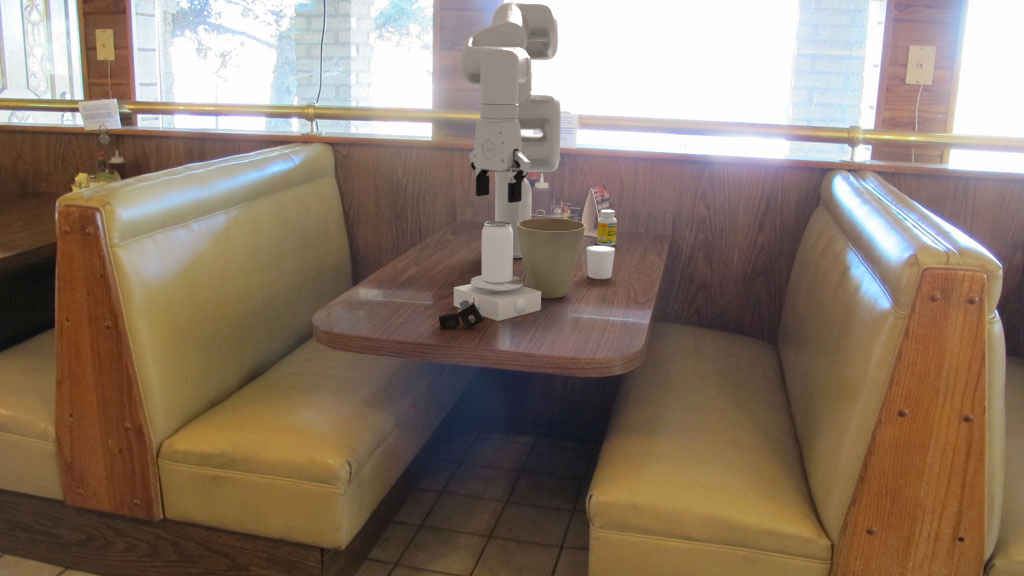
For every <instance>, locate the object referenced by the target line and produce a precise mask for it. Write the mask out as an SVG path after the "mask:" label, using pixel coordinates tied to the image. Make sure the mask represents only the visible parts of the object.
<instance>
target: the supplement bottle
mask: <svg viewBox="0 0 1024 576" xmlns="http://www.w3.org/2000/svg"><path fill="white" fill-rule="evenodd" d="M599 215H600V217H598V219H597V233H596V234H597V235H596V243H597V245H602V246H610V247H613V246H616V244H617V228H618V227H617V225H618V224H617V223H618V220H617V218H616V217H615V215H616V212H615V210H613V209H601V210H600V214H599Z"/></svg>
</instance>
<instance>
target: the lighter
mask: <svg viewBox="0 0 1024 576" xmlns="http://www.w3.org/2000/svg"><path fill="white" fill-rule="evenodd" d="M459 304H460V306H461V308H457V312H452V313H443V314H441V315H439V316H438V321H439V322H438V323H439V326H440V327H439V328H440V329H443V330H450V329H456V328H458V327H459V326H461V325H460V324H461V323H460V322H462V323H463V325H464V326H465V328H466V329H467V330H470V329H472V328H473V327H475V326H477V325H478V324H480V323H482V322H483V321H484V320H485V317H484V316H482V315H481V314H480V312H479V311H478V309H477V307H476V306H475V304H474V303H473V302H472V303H470V304H469V301H468V300H466V301H465V300H464V301H462V302H460V303H459ZM460 320H461V321H460Z"/></svg>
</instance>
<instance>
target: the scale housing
mask: <svg viewBox="0 0 1024 576" xmlns="http://www.w3.org/2000/svg"><path fill="white" fill-rule="evenodd" d="M464 300H465V301H466V300H468V301H469V304H470V303H472V302H473V303H474V304H475V306H476V307H477V309H478V311H479V312H480V314H481V315H482V316H483V317H484V318H488V319H491V320H494V321H496V322H499V321H503V320H507V319H511V318H515V317H519V316H522V315H528V314H531V313H534V312H539V311H541V309H542V298H541V291H538V290H534V289H531V287H528V286H524V285H523V287H521V288H519V289H516V290H511V291H485V290H480V289H476V288H474V287H472V286H471V283H469V284H465V285H459V286H455V287H453V306H454V307H456V308H458V309H461V306H460V304H459V303H460V302H462V301H464Z"/></svg>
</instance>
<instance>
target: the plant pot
mask: <svg viewBox="0 0 1024 576" xmlns="http://www.w3.org/2000/svg"><path fill="white" fill-rule="evenodd" d="M517 229H518V237H519V244H520V250H521V255H522V258H521V259H522V263H523V267H524V272H525V274H526V277H527V281H528V285H529V288H531V289H534V290H538V291H541V299H559V298H562V297H565V296H566V294H567V292H568V290H569V288H570V285H571V282H572V280H573V277H574V274H575V271H576V268H577V264H578V262H579V258H580V255H581V250H582V247H583V240H584V235H585V230H586V224H585V223H584V222H581V221H579V220H576V219H569V218H561V217H536V218H535V217H534V218H533V217H531V219H526V220H522V221H519V222H518V223H517Z"/></svg>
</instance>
